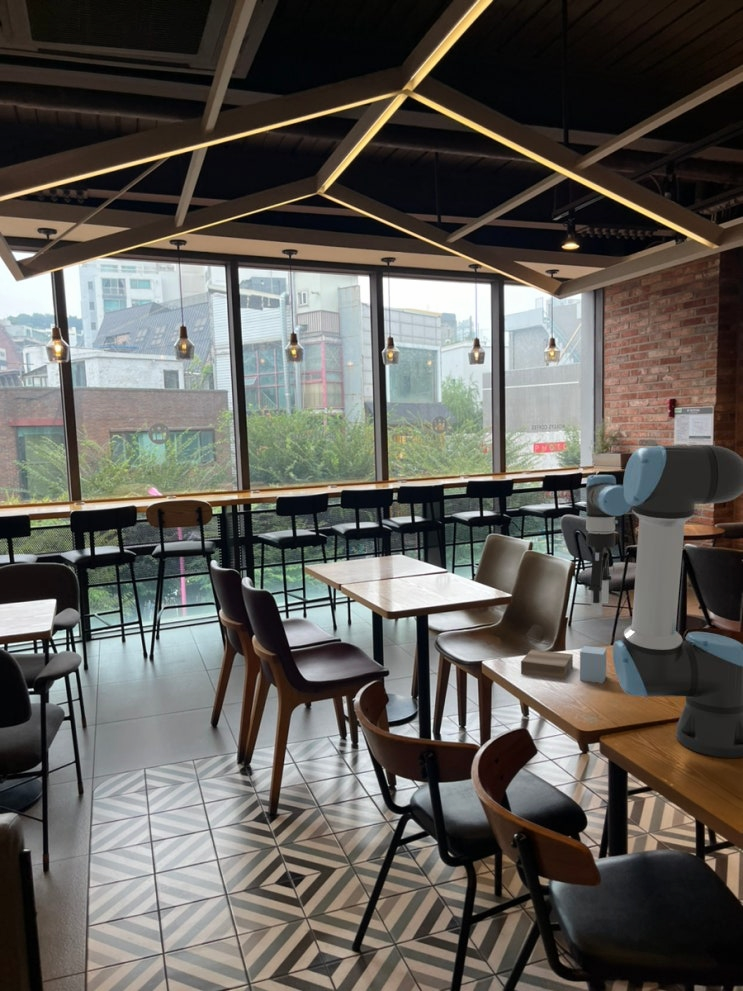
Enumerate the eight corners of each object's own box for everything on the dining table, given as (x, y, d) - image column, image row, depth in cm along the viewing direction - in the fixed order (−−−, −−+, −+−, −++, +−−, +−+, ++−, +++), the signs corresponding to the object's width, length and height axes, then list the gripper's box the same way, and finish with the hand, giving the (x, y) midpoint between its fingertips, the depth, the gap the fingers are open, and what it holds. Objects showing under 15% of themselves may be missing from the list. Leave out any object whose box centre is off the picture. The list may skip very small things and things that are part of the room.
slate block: (603, 683, 186) (603, 654, 185) (580, 680, 189) (580, 651, 188) (606, 676, 191) (606, 648, 191) (583, 673, 194) (584, 645, 193)
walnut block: (564, 681, 190) (564, 666, 189) (521, 675, 195) (521, 661, 195) (572, 667, 200) (572, 654, 200) (531, 662, 206) (531, 649, 205)
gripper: (609, 538, 175) (608, 621, 177) (620, 526, 197) (619, 599, 199) (579, 537, 178) (578, 618, 180) (592, 525, 200) (592, 597, 202)
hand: (600, 608), depth 189 cm, fingers open, 13 cm apart
